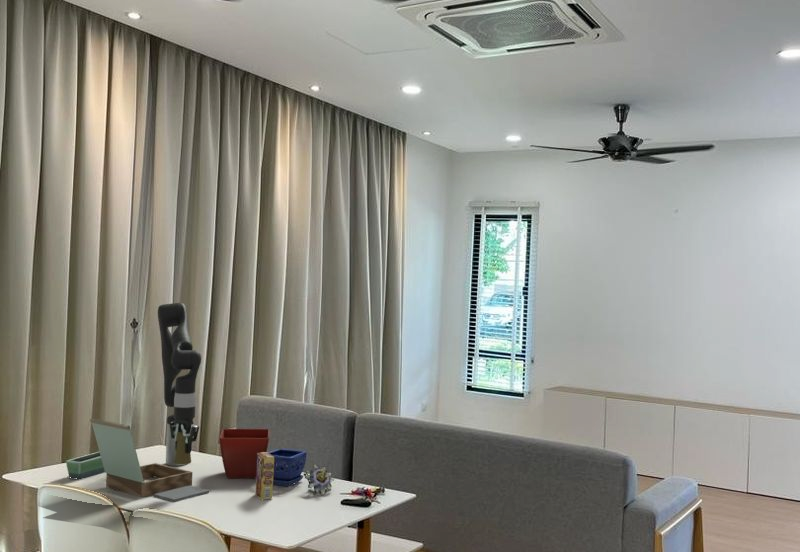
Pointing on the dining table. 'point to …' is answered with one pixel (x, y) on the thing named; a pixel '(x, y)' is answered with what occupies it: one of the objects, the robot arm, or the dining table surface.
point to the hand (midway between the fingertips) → (183, 451)
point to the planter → (85, 466)
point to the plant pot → (242, 451)
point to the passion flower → (319, 479)
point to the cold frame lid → (117, 449)
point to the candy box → (264, 475)
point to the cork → (181, 450)
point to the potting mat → (181, 493)
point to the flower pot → (288, 466)
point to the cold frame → (167, 480)
